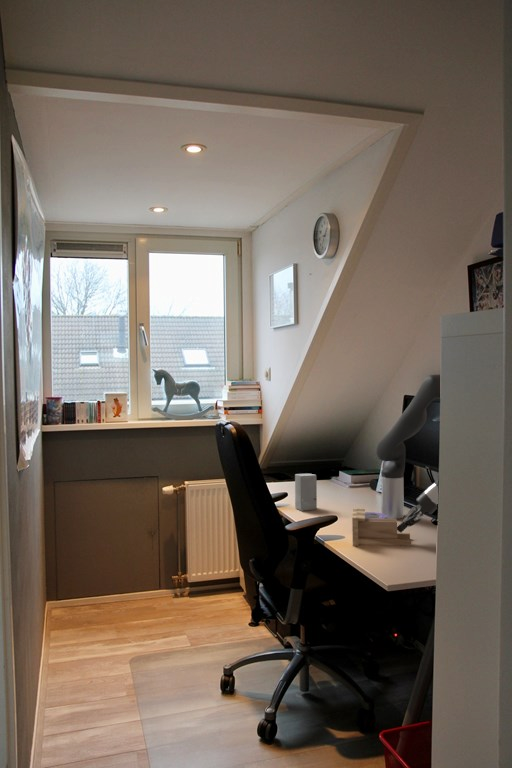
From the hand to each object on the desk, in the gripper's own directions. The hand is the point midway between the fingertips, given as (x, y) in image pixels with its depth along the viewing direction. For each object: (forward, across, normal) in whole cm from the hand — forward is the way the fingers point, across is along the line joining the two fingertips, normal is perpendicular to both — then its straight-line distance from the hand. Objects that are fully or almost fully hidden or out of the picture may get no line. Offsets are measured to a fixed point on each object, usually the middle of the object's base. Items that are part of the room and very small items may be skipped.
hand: (398, 530), depth 234 cm
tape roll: (+10, -19, -4) cm, 22 cm away
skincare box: (+30, -47, -24) cm, 61 cm away
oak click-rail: (+7, 0, -1) cm, 7 cm away
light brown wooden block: (+8, 0, -2) cm, 9 cm away
